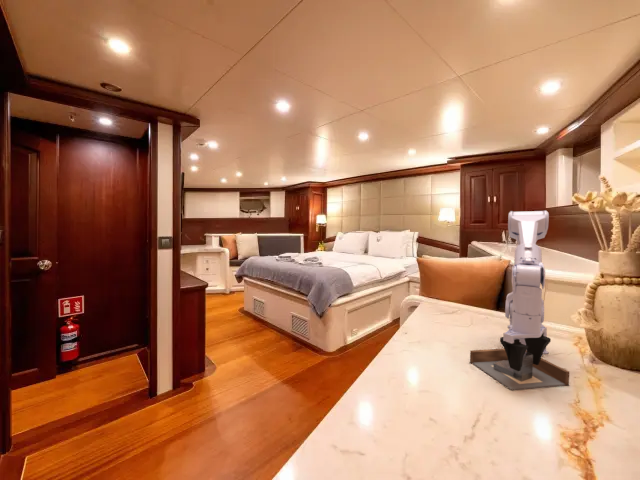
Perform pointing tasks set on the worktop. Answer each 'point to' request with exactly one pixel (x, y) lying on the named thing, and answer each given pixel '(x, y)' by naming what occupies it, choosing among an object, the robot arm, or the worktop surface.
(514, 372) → the angle bracket
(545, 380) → the corner mat
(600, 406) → the worktop surface
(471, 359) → the corner walls
